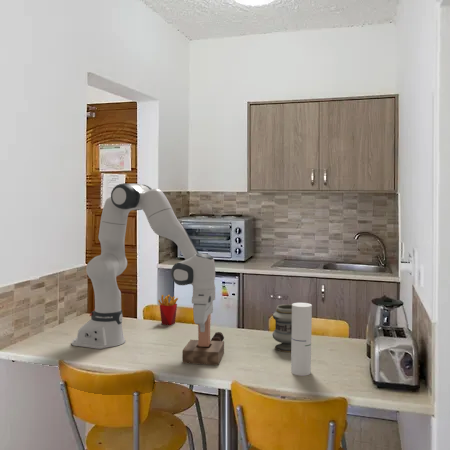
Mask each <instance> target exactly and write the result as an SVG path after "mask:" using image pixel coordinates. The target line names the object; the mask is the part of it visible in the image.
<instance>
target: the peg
mask: <svg viewBox="0 0 450 450" xmlns="http://www.w3.org/2000/svg"><path fill="white" fill-rule="evenodd" d="M197 328H198V330H197V331H198V333H197V334H198V336H197V337H198V338H197V340H198V346H205V347H208V346H209V345H210V341H211V315H210V314H209V315H208V319H207V320H206V322H205V332H200V325H199V324H197Z"/></svg>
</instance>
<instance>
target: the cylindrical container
mask: <svg viewBox="0 0 450 450" xmlns="http://www.w3.org/2000/svg"><path fill="white" fill-rule="evenodd" d="M291 305H292V339H291V352H290V353H291V354H290V355H291V356H290V371H291V374H292V375H295V376H302V377H303V376H308V375H311V373H312V372H311V371H312V365H311V364H312V325H313V324H312V323H313V321H312V320H313V319H312V318H313V317H312V314H313V313H312V312H313V309H312V308H313V305H312V304H311V303H308V302H293V303H292V304H291Z"/></svg>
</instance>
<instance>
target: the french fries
mask: <svg viewBox="0 0 450 450" xmlns="http://www.w3.org/2000/svg"><path fill="white" fill-rule="evenodd" d="M160 299H161V300H160ZM160 299H158V300H157V301H158V303H159V312H160V320H161V321H160V322H161V325H162V326H163V325H164V326H168V327H169V326H172V325H175V324H176V318H177V309H178V304H177V301H178V300H179V297H176V296H171V295H170V294H168V295H166V296H165V297H164V294H161V297H160ZM169 299H170V301H169Z"/></svg>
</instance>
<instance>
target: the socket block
mask: <svg viewBox="0 0 450 450" xmlns="http://www.w3.org/2000/svg"><path fill="white" fill-rule="evenodd" d="M224 354H225V341H224V340H223V341H211V340H210V345H209V346H208V347H205V346H198V339H190V340H189V341H188V343H186V345H185V347H184V348H183V349H182V357H181V358H182V364H191V365H206V366H207V365H208V366H210V365H211V366H219V365H220V362H221V360H222V359H223V356H224Z"/></svg>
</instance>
